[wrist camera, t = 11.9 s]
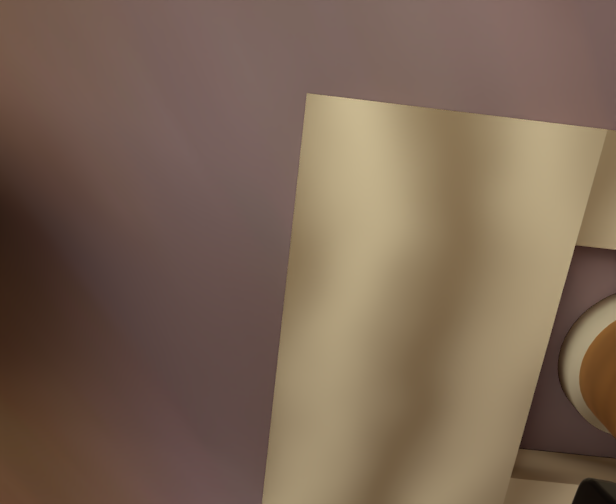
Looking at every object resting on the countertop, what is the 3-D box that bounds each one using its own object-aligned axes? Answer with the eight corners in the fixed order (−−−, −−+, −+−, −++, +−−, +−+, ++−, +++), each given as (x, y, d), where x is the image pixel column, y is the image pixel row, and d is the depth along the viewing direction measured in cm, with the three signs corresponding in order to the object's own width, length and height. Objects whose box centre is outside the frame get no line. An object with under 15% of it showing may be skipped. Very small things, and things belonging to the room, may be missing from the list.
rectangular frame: (262, 496, 24) (258, 531, 22) (307, 93, 19) (307, 93, 17) (764, 546, 24) (802, 584, 23) (943, 170, 19) (1012, 178, 17)
